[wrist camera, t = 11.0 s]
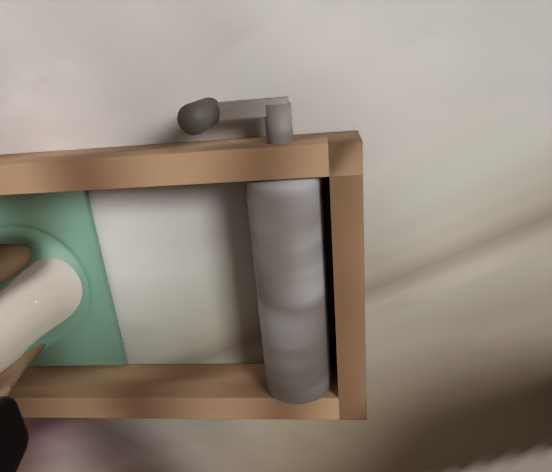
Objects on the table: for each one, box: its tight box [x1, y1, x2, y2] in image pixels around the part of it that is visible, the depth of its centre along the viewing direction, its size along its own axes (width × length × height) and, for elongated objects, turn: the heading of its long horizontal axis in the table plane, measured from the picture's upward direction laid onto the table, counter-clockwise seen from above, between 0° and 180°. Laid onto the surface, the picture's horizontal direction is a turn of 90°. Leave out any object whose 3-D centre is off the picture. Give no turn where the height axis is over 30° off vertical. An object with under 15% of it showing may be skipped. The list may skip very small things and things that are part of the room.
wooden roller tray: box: [0, 97, 367, 420], centre depth 20 cm, size 20×14×4 cm
